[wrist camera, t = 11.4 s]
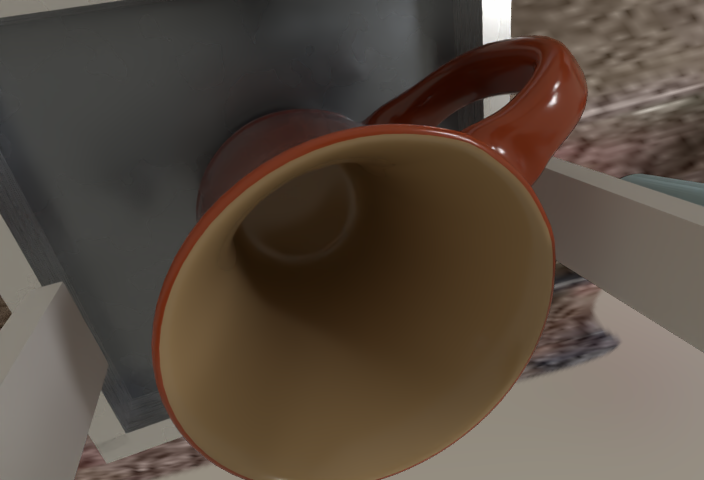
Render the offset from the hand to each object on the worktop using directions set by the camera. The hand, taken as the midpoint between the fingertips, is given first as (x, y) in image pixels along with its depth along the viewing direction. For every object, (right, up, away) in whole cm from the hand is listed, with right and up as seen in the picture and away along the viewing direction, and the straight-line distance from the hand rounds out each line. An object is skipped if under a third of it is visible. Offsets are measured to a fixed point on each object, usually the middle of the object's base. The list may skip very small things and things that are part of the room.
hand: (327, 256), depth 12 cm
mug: (-1, +4, +6) cm, 7 cm away
